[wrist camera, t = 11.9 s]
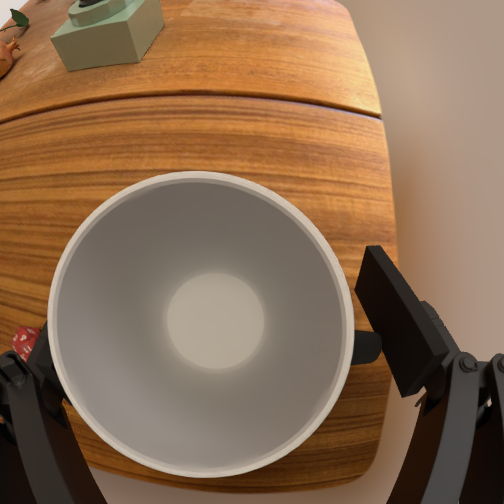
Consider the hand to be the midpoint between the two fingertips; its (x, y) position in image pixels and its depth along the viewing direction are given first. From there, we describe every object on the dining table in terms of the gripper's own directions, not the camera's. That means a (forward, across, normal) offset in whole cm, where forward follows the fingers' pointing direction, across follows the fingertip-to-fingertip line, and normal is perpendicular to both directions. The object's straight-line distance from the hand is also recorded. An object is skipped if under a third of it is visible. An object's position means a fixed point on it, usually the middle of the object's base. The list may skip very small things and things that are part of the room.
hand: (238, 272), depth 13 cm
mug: (+1, 0, -5) cm, 5 cm away
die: (+1, -16, -8) cm, 18 cm away
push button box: (+23, -14, +15) cm, 31 cm away
